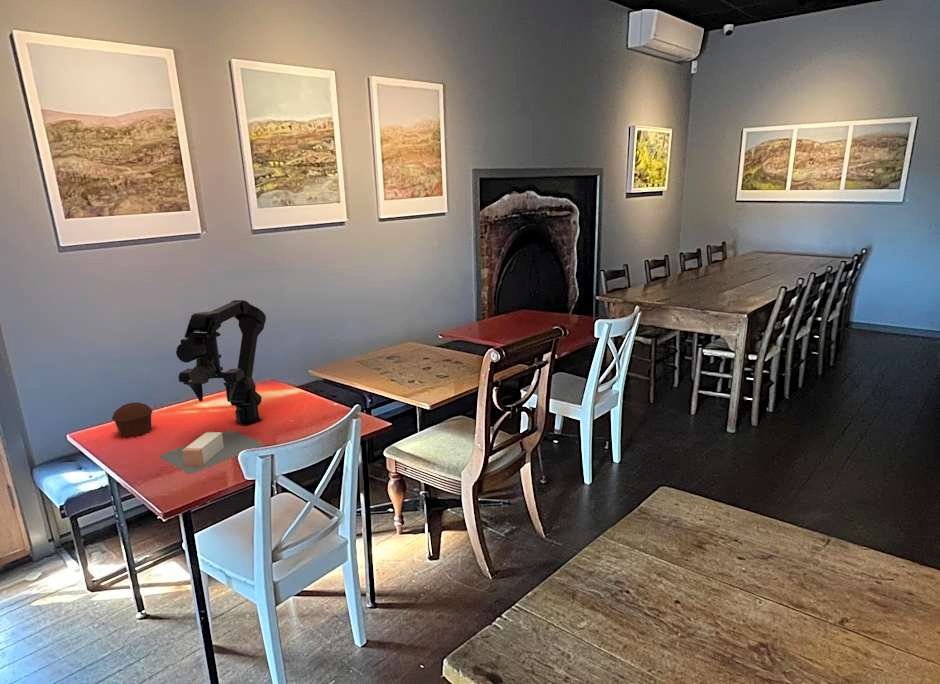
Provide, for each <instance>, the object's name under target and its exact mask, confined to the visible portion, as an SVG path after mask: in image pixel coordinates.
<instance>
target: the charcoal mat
mask: <svg viewBox="0 0 940 684" xmlns="http://www.w3.org/2000/svg"><path fill="white" fill-rule="evenodd" d="M222 437H223V444H224V448H223V449H222V450H220V451H219V452H218V453H217V454H216V455H214V456H213V457H212V458H211V459H210V460H209V461H207V462H206V463H205V464H204V465H203V466H201V467H188V466H184V460H183V453H182V450H183V449H185V448H186V447H187V446H189V445H190V444H188V445H185V446H181V447H178V448H176V449H172V450H171V451H167V452H164V453H161V454H159V455H157V457H158V458H160V459H162V460H164V461H166V462H168V463H169V464H171V465H173V466H174V467H176V468H178V469H180V470H181V471H183V472H184V473H186V474H188V475H191V474H194V473H197V472H199V471H201V470H204V469H207V468H210V467H212V466H214V465H217V464H220V463H223V462H225V461H228V460H230V459H233V458H236V457H238V454H239V452H241V451H243V450H246V449H251V448H257V449H260V448H262V447H264V446H266V443H262V442H260V441H258V440H256V439H254V438H251V437H249V436H247V435H245V434H243V433H240V432H238V431H235V430H234V429H232V430H228V431H226V432H222ZM259 447H260V448H259Z"/></svg>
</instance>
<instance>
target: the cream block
mask: <svg viewBox="0 0 940 684" xmlns="http://www.w3.org/2000/svg"><path fill="white" fill-rule="evenodd" d="M222 433H223V432H219V431H218V432H215V431H206V432H205V433H203V434H202V435H201V436H199V437H198V438H196V439H195V440H194V441H192V442H191V443H190V444H188V445H189V446H187V445H186V446H187V447H186V448H185V449H183V450H182V453H183V460H184V466H188V467H201V466H203V465H204V464H205V463H206V462H207V461H209V460H210V459H211V458H212V457H213V456H214V455H216V454H217V453H218V452H219V451H220V450H222V449H223V448H224V444H223V437H222Z"/></svg>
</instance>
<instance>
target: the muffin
mask: <svg viewBox="0 0 940 684" xmlns="http://www.w3.org/2000/svg"><path fill="white" fill-rule="evenodd" d="M152 414H153V409H152V408H151V407H150V406H149V405H148V404H146V403H142V402H129V403H126V404H124V405H121V406H119V407H118V408H117V409H116V410H115V411H114V412H113V415H112V417H111V420H112V421H114V422H115V425H116V428H117V431H118V433H119V436H120V437H122V438H123V437H134V438H137V437H136V436H140V437H142V436H141V435H143V434H145V435H147V434H146V433H148V434H149V433H150V432H151V431H152ZM150 430H151V431H150ZM149 431H150V432H149ZM143 436H144V435H143Z"/></svg>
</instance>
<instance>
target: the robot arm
mask: <svg viewBox="0 0 940 684" xmlns="http://www.w3.org/2000/svg"><path fill="white" fill-rule="evenodd" d="M232 318H234V319H236V320H237V321H238V327H239V330H240V332H241V342H240V348H239V353H238V354H239V357H238V362H237V368H230V369H228V370H227V371H224V367H223V366H221V362H220V361H221V360H220V359H221V358H222V354H221V353H219V347H218V337H220V336H221V333H220V332H218V330H219V329H220V328H221V326H222V323H224V322H226V321H229V320H230V319H232ZM266 321H267V315H266V314H265V313H264V312H263V310H261V309H260V308H259V307H257V306H254V305H252V304H250V303H249V301H247V300H244V299H241V300H240V299H234V300H232V301H230V302H229V303H227V304H224V305H222V306H220V307H217V308H215V309H213V310H211V311H210V310H209V311H202V312H195V313H192V315H191V316H190V319H189V321H188V324H187V328H186V331H185V335H184V338H182V339H180V344H178V346H177V347H176V351H175V354H176V356H177V359H178V360H180V361H181V362H182V363H185V364H186V363H190V362H192V361H195V360H196V365H195V366H194V367H193V368H186V369H184V370H183V371H180V372H179V374H178V376H177V377H178V382H179V383H183V385H186V386H188V387H190V389H191V390H192V391H193V393H194V394H195V396H196V398H197V400H198V401H199V402H203V401H204V399H203V398H204V394H203V393H204V391H203V385H206V384H207V383H208V382H209V380H210V379H211V380H212V379H223V381H224V383H223V385H224V386H225V393H226V400H227V402H228V403H230V404H231V407H235V408H236V409H235V419H236V420H235V422H236V423H237V424H240V425H242V426H245V427H247V426H249V425H251V424H252V425H253V424H254V423H257V422H261V421H263V418H262V417H260V415H259V407H258V406H260V405H261V403H262V396H261V394H259V393H258V392H257V391H256V383H255V381H254V379H253V373H254V372H253V371H254V365H255V357H256V351H257V350H256V349H257V343H258V337H259V335H260V334H261V333H262V331H264V329H265V328H264V327H265V324H266Z"/></svg>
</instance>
